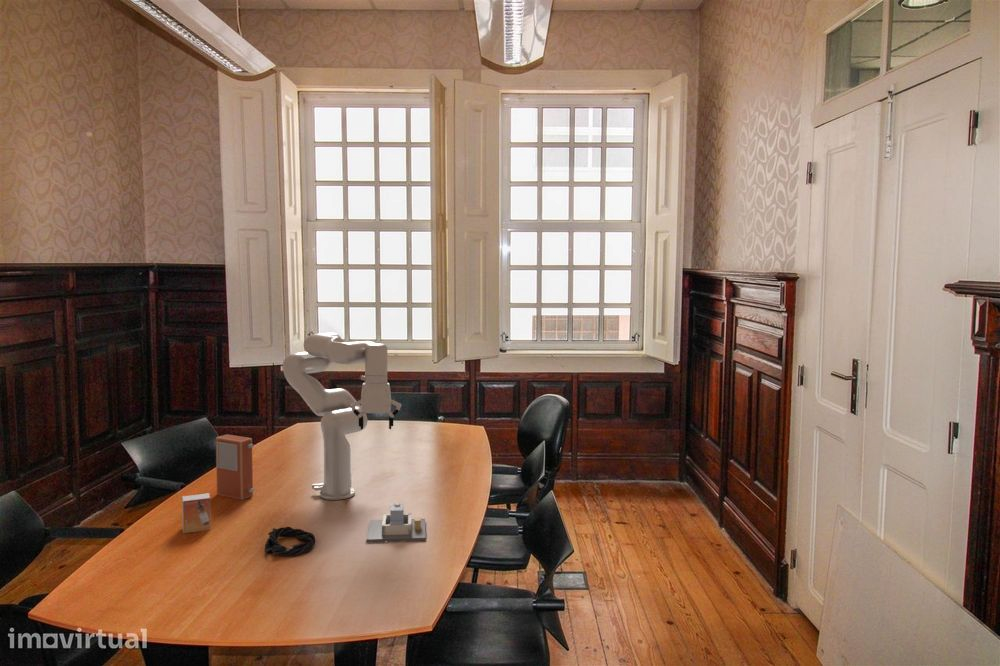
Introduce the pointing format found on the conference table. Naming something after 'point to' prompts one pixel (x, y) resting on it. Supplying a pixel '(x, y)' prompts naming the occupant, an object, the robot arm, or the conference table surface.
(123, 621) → the conference table surface
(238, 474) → the orange electrical enclosure
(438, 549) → the conference table surface
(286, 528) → the cable
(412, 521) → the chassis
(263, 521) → the conference table surface
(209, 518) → the small box
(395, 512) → the block
